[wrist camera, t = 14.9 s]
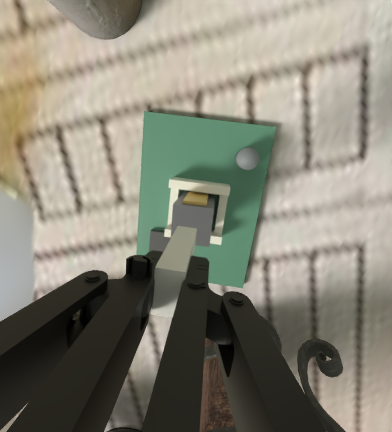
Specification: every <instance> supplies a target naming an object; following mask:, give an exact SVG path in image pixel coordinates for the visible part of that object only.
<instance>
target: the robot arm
mask: <svg viewBox="0 0 392 432" xmlns="http://www.w3.org/2000/svg"><path fill="white" fill-rule="evenodd" d="M196 233H197V228H190V227H184V226H177V228H176V230H175V232H174V234H173V235H172V237H171V239H170V241H169V243H168V245H167V246H166V248H165V250H164V252H162V251H155V250H152V251H150V252H148V253H147V254H146V255H133V256H130V257H129V258H127V259H126V274H125V276H124V277H123V278H122V279H108V275H107V273H105V272H103V271H99V270H92V271H88V272H85V273H83V274H81V275H79V276H77V277H76V278H74V279H72V280H71V281H69V282H67V283H65V284H64V285H62V286H60V287H59V288H57V289H55V290H53V291H52V292H50V293H48V294H47V295H45V296H43V297H42V298H40V299H38V300H36V301H35V302H33V303H31V304H30V305H28V306H26V307H24V308H23V309H21V310H19V311H18V312H16V313H14V314H13V315H11V316H9V317H7V318H6V319H4V320H2V321H1V322H0V430H1V429H2V428H3V427H4V426H5V425H6V424H7V423H8V422H9V421H10V420H11V419H12V418H13V417H14V416H15V415H16V414H17V413H18V412H19V411H20V410H21V409H22V408H23V407H24V406H25V405H26V404H27V403H28V402H29V403H28V404H27V405H26V407H25V408H24V409H23V411H22V412H21V413H20V414H19V416H18V417H17V418H16V420H15V421H14V422H13V424H12V425H11V426H10V428H9V429H8V430H7V432H104V430H105V428H106V425H107V423H108V420H109V418H110V415H111V413H112V410H113V408H114V405H115V403H116V400H117V398H118V395H119V393H120V391H121V388H122V386H123V383H124V381H125V378H126V376H127V373H128V371H129V368H130V366H131V363H132V361H133V358H134V356H135V353H136V351H137V349H138V346H139V344H140V341H141V339H142V336H143V334H144V331H145V329H146V326H147V324H148V321H149V312H150V310H151V307H152V312H151V314H153V315H159V316H165V317H171V318H172V322H171V325H170V329H169V333H168V336H167V340H166V344H165V347H164V351H163V355H162V358H161V362H160V366H159V369H158V373H157V377H156V380H155V384H154V388H153V391H152V395H151V399H150V402H149V406H148V410H147V413H146V417H145V421H144V424H143V428H142V432H200V418H201V402H202V386H203V370H204V354H205V339H206V338H207V339H209V340H211V341H213V342H214V347H215V351H216V355H217V359H218V362H219V366H220V370H221V374H222V378H223V381H224V385H225V389H226V393H227V397H228V400H229V404H230V408H231V412H232V416H233V419H234V423H235V427H236V431H237V432H326V430H325V428H324V426H323V425H322V423H321V421H320V420H319V418H318V416H317V414H316V413H315V411H314V409H313V408H312V406H311V404H310V402H309V401H308V399H307V397H306V395H305V394H304V392H303V390H302V389H301V387H300V385H299V383H298V382H297V380H296V378H295V376H294V375H293V373H292V371H291V370H290V368H289V366H288V364H287V363H286V361H285V359H284V357H283V356H282V354H281V352H280V351H279V349H278V347H277V345H276V344H275V342H274V340H273V339H272V337H271V335H270V333H269V332H268V330H267V328H266V326H265V325H264V323H263V321H262V320H261V318H260V316H259V314H258V313H257V311H256V309H255V307H254V306H253V304H252V302H251V301H250V299H249V298H248V297H247V296H245V295H244V294H242V293H239V292H234V291H231V292H226V293H225V294H224V295H223V296H220V295H218V294H216V293H214V292H213V291H211V290H210V288H209V286H208V277H209V261H208V259H207V258H205V257H198V256H193V255H194V248H195V240H196ZM77 311H78V315H77V316H76V317H74V318H72V316H73V315H74V314H75V313H76V312H77ZM108 432H140V431H137V430H133V429H115V430H111V431H108Z"/></svg>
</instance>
